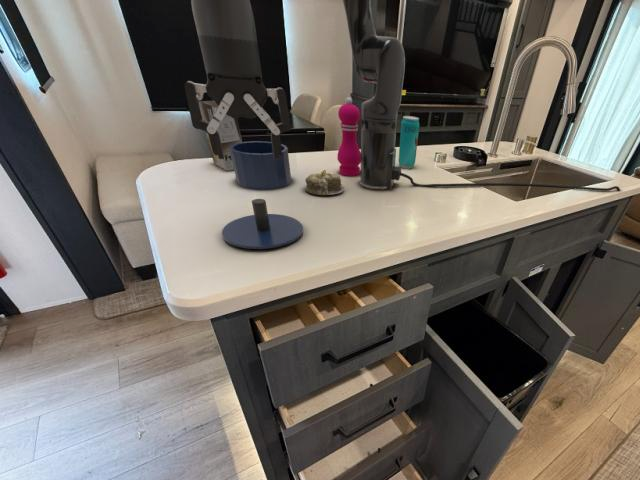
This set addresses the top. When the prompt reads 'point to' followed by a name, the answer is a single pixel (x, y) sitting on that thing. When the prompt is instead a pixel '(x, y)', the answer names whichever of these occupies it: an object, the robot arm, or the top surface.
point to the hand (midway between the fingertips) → (249, 158)
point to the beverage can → (408, 141)
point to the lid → (262, 229)
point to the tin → (260, 165)
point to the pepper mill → (349, 140)
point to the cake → (324, 184)
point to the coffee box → (222, 134)
